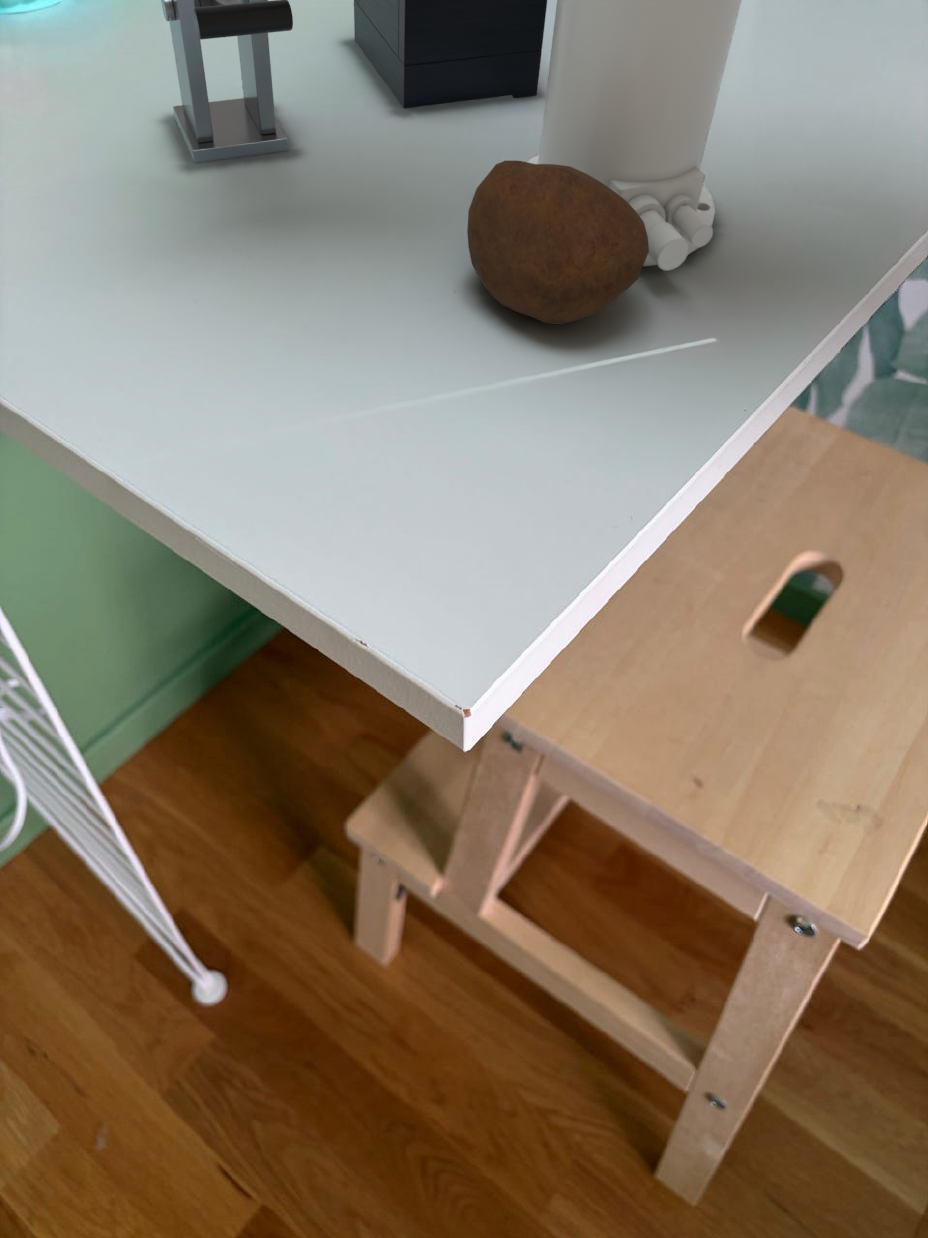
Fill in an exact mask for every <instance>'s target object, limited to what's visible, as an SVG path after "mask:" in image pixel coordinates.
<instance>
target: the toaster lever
mask: <svg viewBox="0 0 928 1238" xmlns="http://www.w3.org/2000/svg"><path fill="white" fill-rule="evenodd" d="M195 4H196V8H194V9H193V17H194V24H195V29H196V32H197V35H198V37H199V39H200V40H209V39H211V40H212V39H220V38H230V37H237V36H241V35H251V34H261V33H268V34H269V33H280V32H290V31H292V30H293V28H294V19H293V18H294V17H293V11H292V7H291V4H290V2H289V0H268V1H264V2H253V3H241V2H239V1H238V0H195Z"/></svg>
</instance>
